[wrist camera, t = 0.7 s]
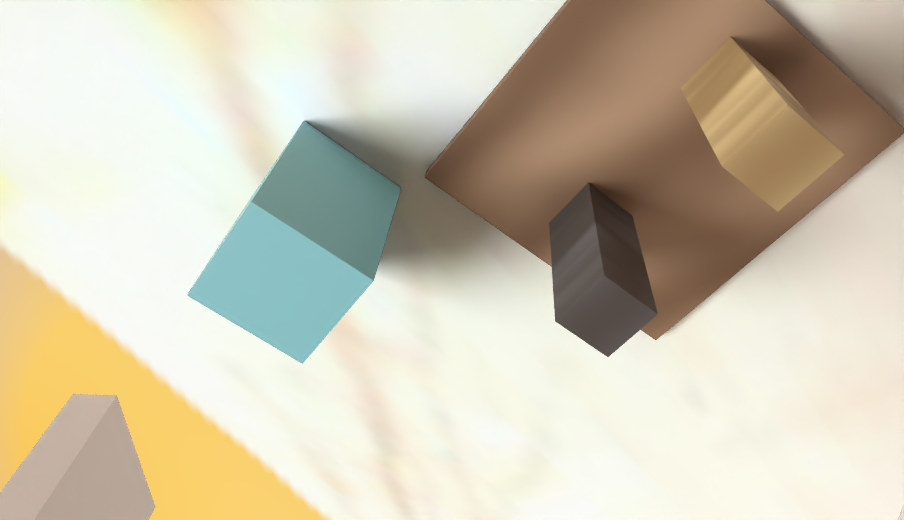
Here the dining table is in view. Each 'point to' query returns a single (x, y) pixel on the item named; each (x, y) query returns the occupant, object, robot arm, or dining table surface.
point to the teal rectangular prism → (301, 245)
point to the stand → (658, 153)
